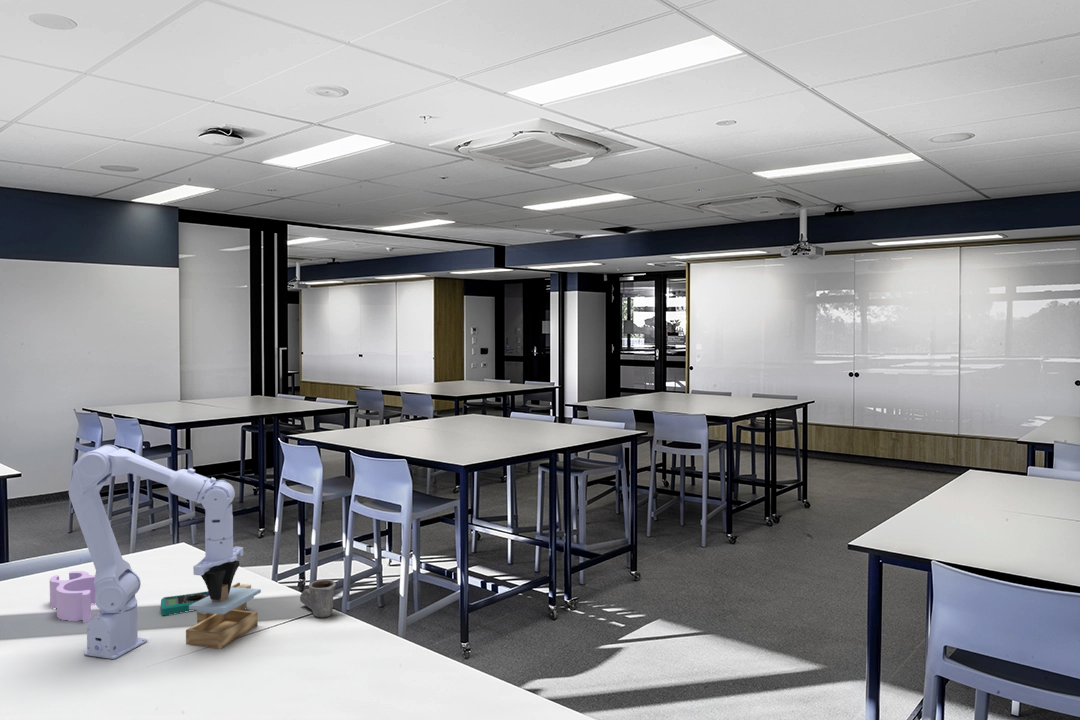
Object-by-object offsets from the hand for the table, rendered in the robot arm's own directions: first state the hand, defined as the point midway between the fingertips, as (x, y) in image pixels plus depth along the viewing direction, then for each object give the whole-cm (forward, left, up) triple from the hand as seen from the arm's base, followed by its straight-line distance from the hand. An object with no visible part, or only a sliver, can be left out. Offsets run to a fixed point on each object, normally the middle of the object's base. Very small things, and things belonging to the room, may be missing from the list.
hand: (219, 596), depth 165 cm
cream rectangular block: (+15, +5, -5) cm, 17 cm away
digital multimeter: (+15, +19, -11) cm, 27 cm away
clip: (+7, +45, -10) cm, 46 cm away
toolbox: (+7, +3, -10) cm, 12 cm away
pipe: (+20, -12, -10) cm, 26 cm away
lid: (+2, 0, -2) cm, 3 cm away
